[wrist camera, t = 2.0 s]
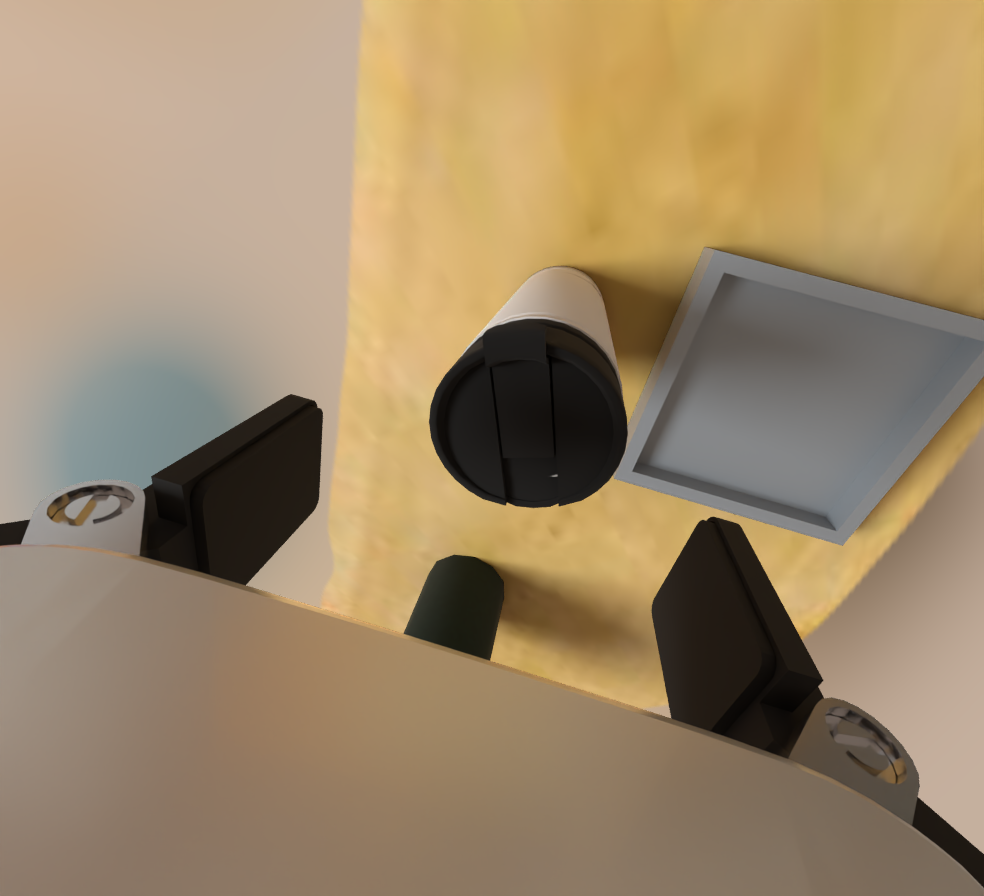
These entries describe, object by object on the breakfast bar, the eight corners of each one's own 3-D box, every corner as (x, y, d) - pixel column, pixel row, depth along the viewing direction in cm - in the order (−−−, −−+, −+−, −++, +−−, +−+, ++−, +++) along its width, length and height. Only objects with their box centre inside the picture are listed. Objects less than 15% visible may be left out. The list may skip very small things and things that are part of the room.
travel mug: (604, 254, 28) (636, 319, 11) (604, 355, 31) (628, 533, 14) (508, 264, 30) (401, 335, 12) (516, 360, 33) (439, 528, 15)
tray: (704, 246, 27) (714, 249, 25) (985, 320, 26) (1022, 330, 24) (612, 462, 35) (613, 478, 33) (826, 524, 34) (842, 545, 32)
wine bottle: (420, 614, 47) (219, 1101, 21) (435, 545, 42) (196, 1071, 16) (490, 636, 47) (373, 1160, 21) (513, 569, 42) (397, 1148, 16)
